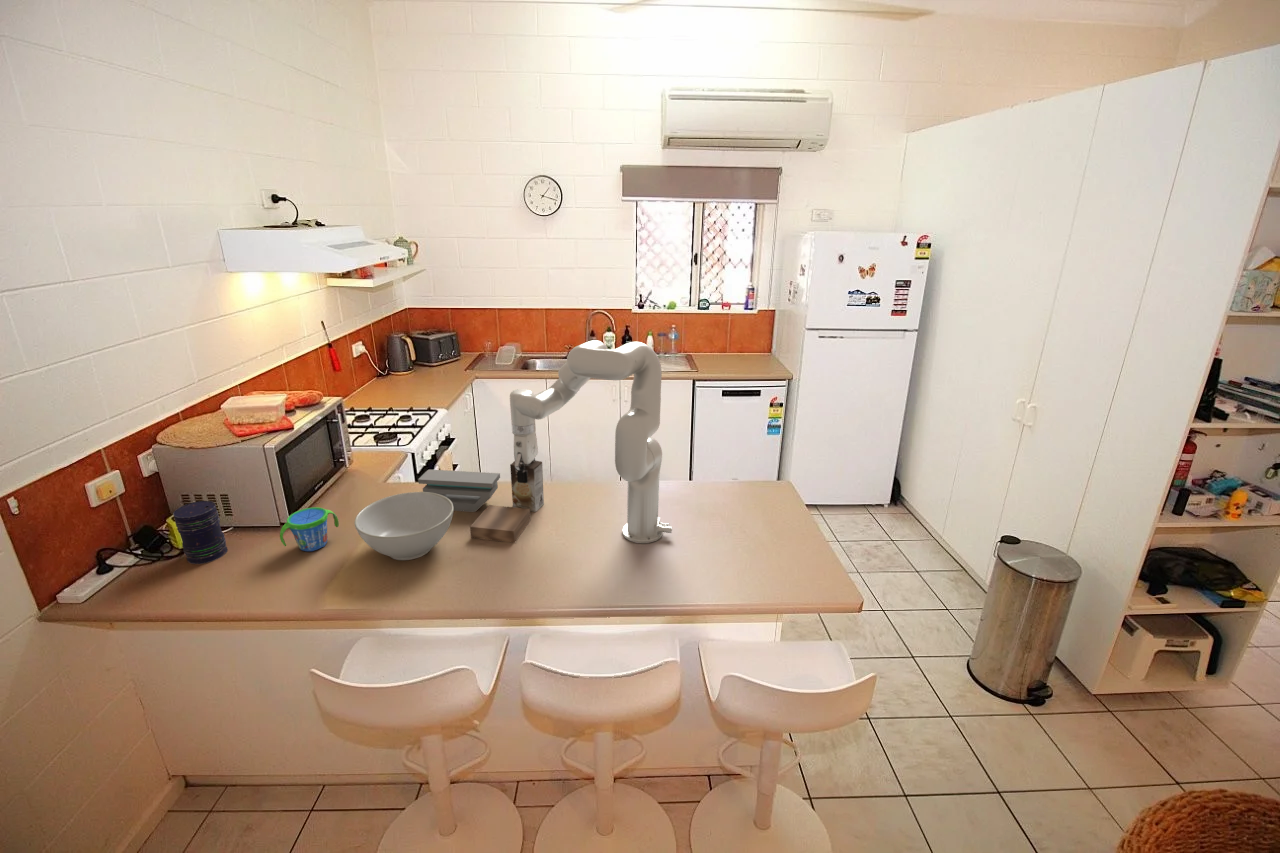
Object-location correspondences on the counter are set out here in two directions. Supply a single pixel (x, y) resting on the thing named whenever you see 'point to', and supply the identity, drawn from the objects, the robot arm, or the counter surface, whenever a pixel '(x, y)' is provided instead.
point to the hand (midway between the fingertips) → (526, 477)
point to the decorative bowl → (405, 523)
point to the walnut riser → (500, 523)
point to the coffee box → (528, 487)
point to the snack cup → (309, 528)
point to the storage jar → (200, 532)
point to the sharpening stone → (461, 487)
